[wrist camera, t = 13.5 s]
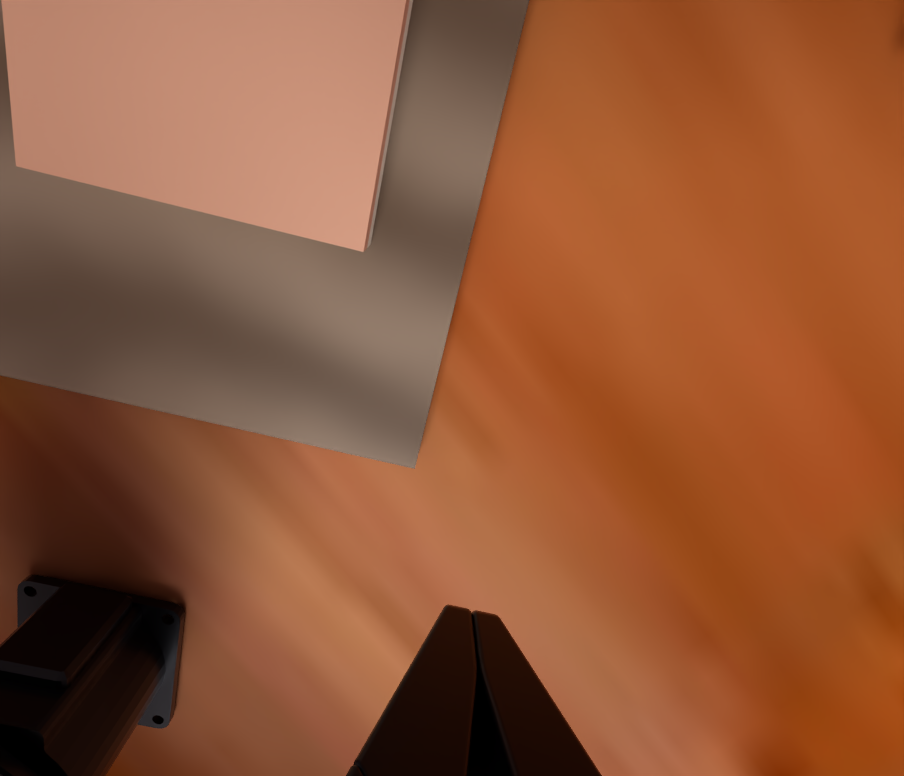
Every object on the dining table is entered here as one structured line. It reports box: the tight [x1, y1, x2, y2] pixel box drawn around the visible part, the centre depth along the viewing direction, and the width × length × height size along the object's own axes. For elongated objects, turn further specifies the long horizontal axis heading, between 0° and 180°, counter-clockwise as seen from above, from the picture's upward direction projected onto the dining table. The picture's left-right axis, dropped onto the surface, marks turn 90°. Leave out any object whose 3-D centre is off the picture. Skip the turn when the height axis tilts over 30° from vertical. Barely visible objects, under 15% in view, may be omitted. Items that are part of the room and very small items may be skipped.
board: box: [0, 0, 529, 469], centre depth 17 cm, size 18×16×1 cm
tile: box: [1, 0, 413, 252], centre depth 15 cm, size 7×10×1 cm
